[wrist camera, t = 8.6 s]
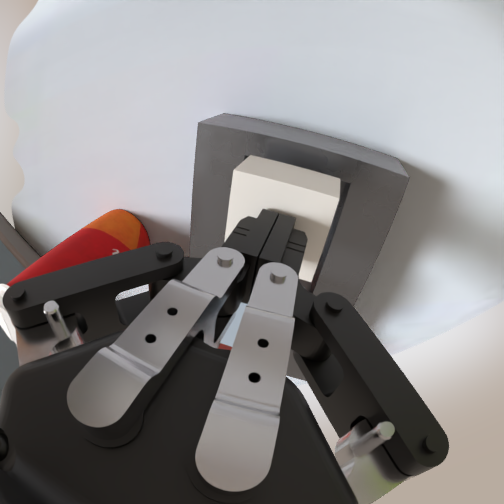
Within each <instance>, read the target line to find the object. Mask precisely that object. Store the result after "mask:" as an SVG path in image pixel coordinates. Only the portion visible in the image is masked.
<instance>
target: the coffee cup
mask: <svg viewBox="0 0 504 504" xmlns="http://www.w3.org/2000/svg"><path fill="white" fill-rule="evenodd" d="M148 245H150V240H149V236H148V234H147V231H146V229H145V228H144V226H143V225H142V223H141V222H140V221H139V220H138V219H137V218H136V217H135V216H134V215H132V214H131V213H129V212H127V211H125V210H121V209H115V210H112V211H110V212H108V213H106V214H104V215H103V216H101V217H99V218H98V219H96V220H94V221H93V222H91V223H90V224H88V225H87V226H85V227H84V228H82V229H81V230H79V231H78V232H76V233H75V234H73V235H72V236H70V237H69V238H67V239H66V240H64V241H63V242H61V243H60V244H59V245H57V246H56V247H54V248H53V249H52V250H50V251H49V252H48V253H46V254H45V255H43V256H42V257H41V258H39V259H38V260H37V261H35V262H34V263H33V264H32V265H30V266H29V267H28V268H26V269H25V270H24V271H22V272H21V273H20V274H19V275H17V276H16V277H15V278H14V279H12V280H11V281H10V282H9V283H8V284H0V326H1V327H2V329H3V330H4V331H5V333H6V334H7V336H8V337H9V338H10V339H11V341H14V342H15V343H16V344H17V341H16V330H15V328H14V326H13V324H12V322H11V319H10V317H9V315H8V313H7V311H6V309H5V307H4V305H3V302H2V301H3V295H4V293H5V292H6V290H7V289H8V288H9V287H10V286H12V285H13V284H15V283H17V282H20V281H23V280H27V279H30V278H33V277H37V276H40V275H43V274H47V273H50V272H54V271H57V270H60V269H64V268H67V267H71V266H74V265H78V264H81V263H85V262H89V261H92V260H96V259H99V258H103V257H107V256H110V255H114V254H118V253H122V252H125V251H129V250H133V249H137V248H140V247H144V246H148ZM16 346H17V345H16Z"/></svg>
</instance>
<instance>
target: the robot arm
mask: <svg viewBox="0 0 504 504" xmlns="http://www.w3.org/2000/svg"><path fill="white" fill-rule="evenodd" d="M295 221H296V218H295V217H292V216H288V215H285V214H281V213H280V215H279V213H277V212H274V211H270V210H266V209H262V211H261V212H260V214H259V216H258V217H257V218H254V217H251V216H247V217H245V218H243V219H241V220H240V221H239V222H238V224H237V225H236V227H235V228H234V230H233V231H232V232H231V234H230V235H229V237H228V238H227V240H226V241H225V242H224V244H223V245H222V247H219V248H215V249H212V250H210V251H209V252H208V253H207V254H206V255H205V256H204V257H203V258H193V257H184V252H183V249H182V248H181V247H180V246H178V245H177V244H174V243H170V242H160V243H156V244H152V245H148V246H144V247H140V248H137V249H133V250H129V251H125V252H122V253H118V254H114V255H110V256H107V257H103V258H99V259H96V260H92V261H89V262H85V263H81V264H78V265H74V266H71V267H67V268H64V269H60V270H57V271H54V272H50V273H47V274H43V275H40V276H37V277H33V278H30V279H27V280H23V281H20V282H17V283H15V284H13V285H12V286H10V287H9V288H8V289H7V290H6V292H5V293H4V295H3V301H2V302H3V305H4V307H5V309H6V311H7V313H8V315H9V317H10V319H11V322H12V324H13V326H14V328H15V330H16V341H17V350H18V359H19V366H20V367H18V368H17V369H16V370H15V371H14V372H13V373H12V374H11V375H10V376H9V378H8V379H7V381H6V383H5V385H4V387H3V390H2V395H1V401H0V504H371V503H373V502H374V501H376V500H378V499H379V498H381V497H382V496H384V495H385V494H386V493H388V492H389V491H391V490H392V489H394V488H395V487H396V486H398V485H399V484H401V483H402V482H404V481H406V480H408V479H410V478H413V477H415V476H417V475H419V474H421V473H423V472H425V471H427V470H430V469H432V468H433V467H435V466H437V465H439V464H441V463H442V462H443V461H444V459H445V458H446V456H447V454H448V450H449V442H448V438H447V435H446V434H445V432H444V430H443V429H442V428H441V426H440V425H439V423H438V422H437V420H436V419H435V417H434V416H433V414H432V413H431V411H430V410H429V409H428V407H427V406H426V404H425V403H424V401H423V400H422V398H421V397H420V396H419V394H418V393H417V392H416V390H415V389H414V387H413V386H412V384H411V383H410V382H409V381H408V379H407V378H406V376H405V375H404V373H403V372H402V371H401V370H400V368H399V367H398V365H397V364H396V362H395V361H394V360H393V358H392V357H391V356H390V354H389V353H388V352H387V350H386V349H385V348H384V346H383V345H382V344H381V342H380V341H379V340H378V338H377V337H376V336H375V334H374V333H373V332H372V330H371V329H370V328H369V327H368V325H367V324H366V323H365V321H364V320H363V319H362V317H361V316H360V315H359V314H358V312H357V311H356V310H355V308H354V307H353V306H352V305H351V303H350V302H349V301H348V300H347V299H346V298H344V297H343V296H341V295H339V294H337V293H333V292H323V293H320V294H319V295H317V296H315V295H314V294H312V293H310V292H309V291H307V290H306V289H305V288H304V287H303V286H302V285H301V283H300V281H299V272H300V268H301V264H302V260H303V257H304V253H305V249H306V245H307V241H308V238H307V236H306V234H305V232H303V231H300V230H297V229H294V225H295ZM146 284H149V291H147V292H144V293H141V294H137V295H134V296H131V297H128V298H125V299H121V300H117V301H115V298H116V296H117V295H118V294H119V293H121V292H123V291H126V290H129V289H133V288H136V287H139V286H143V285H146ZM241 302H242V303H245V304H248V306H247V305H246V307H245V310H244V313H243V316H242V319H241V322H240V325H239V328H238V331H237V334H236V337H235V340H234V343H233V346H232V349H231V350H226V349H218V348H217V347H218V345H219V343H220V342H221V340H222V338H223V337H224V335H225V333H226V332H227V330H228V328H229V326H230V325H231V323H232V321H233V320H234V318H235V316H236V311H237V309H238V308H239V306H240V303H241ZM248 302H249V303H248ZM290 349H292V350H293V357H294V359H295V361H296V363H297V365H298V367H299V368H300V370H301V372H302V374H303V375H304V377H305V379H306V381H307V382H308V384H309V386H310V387H311V389H312V391H313V393H314V394H315V396H316V398H317V400H318V401H319V403H320V405H321V407H322V408H323V410H324V412H325V414H326V415H327V417H328V419H329V421H330V422H331V424H332V426H333V427H334V429H335V431H336V432H337V434H338V436H339V438H340V439H339V440H338V442H337V444H336V447H335V456H336V458H335V456H334V454H333V452H332V450H331V448H330V446H329V444H328V443H327V441H326V439H325V437H324V435H323V433H322V431H321V429H320V427H319V425H318V423H317V421H316V419H315V417H314V415H313V413H312V411H311V409H310V408H309V405H308V403H307V401H306V400H305V398H304V396H303V394H302V393H301V391H300V390H299V389H298V388H297V386H296V385H295V384H294V383H293V382H292V381H291V380H289V379H288V378H287V377H286V372H287V367H288V361H289V355H290ZM336 459H337V460H336Z"/></svg>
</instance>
